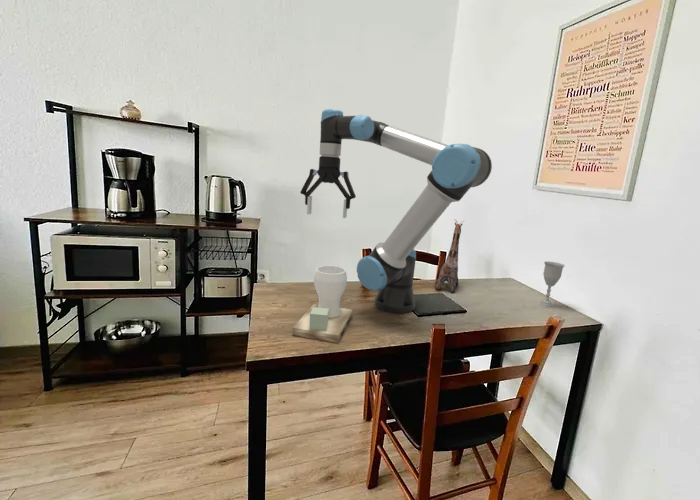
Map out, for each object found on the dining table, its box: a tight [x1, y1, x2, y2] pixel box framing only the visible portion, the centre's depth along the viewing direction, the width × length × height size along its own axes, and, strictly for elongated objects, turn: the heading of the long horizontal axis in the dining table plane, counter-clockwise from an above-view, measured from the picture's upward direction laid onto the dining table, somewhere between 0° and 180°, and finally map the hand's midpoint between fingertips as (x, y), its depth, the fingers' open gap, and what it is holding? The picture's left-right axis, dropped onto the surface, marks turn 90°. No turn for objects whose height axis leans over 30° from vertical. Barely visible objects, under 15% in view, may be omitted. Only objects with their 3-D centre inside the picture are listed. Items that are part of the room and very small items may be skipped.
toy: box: [434, 219, 464, 294], centre depth 158 cm, size 9×26×30 cm, turn 156°
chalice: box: [538, 260, 566, 309], centre depth 144 cm, size 7×7×18 cm
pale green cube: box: [309, 307, 329, 331], centre depth 106 cm, size 5×5×5 cm
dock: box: [292, 303, 354, 344], centre depth 113 cm, size 14×20×2 cm
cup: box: [313, 265, 348, 318], centre depth 115 cm, size 11×11×15 cm
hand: (326, 215), depth 131 cm, fingers open, 13 cm apart
